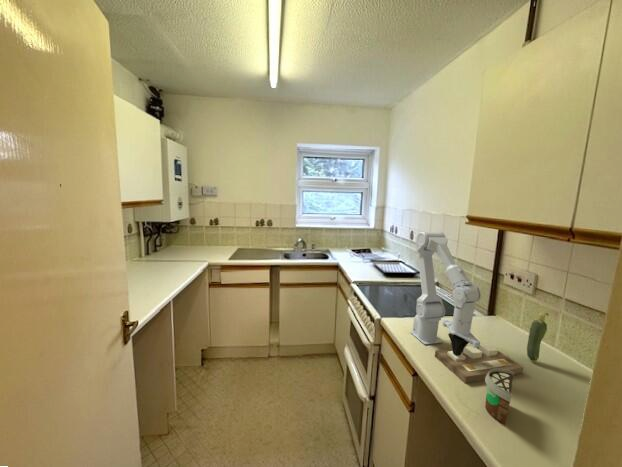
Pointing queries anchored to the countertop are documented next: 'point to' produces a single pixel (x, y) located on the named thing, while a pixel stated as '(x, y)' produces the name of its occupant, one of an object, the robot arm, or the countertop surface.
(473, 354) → the middle button
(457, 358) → the near button
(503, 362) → the button board
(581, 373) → the countertop surface
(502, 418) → the food container
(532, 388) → the countertop surface
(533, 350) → the vegetable
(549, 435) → the countertop surface
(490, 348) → the far button
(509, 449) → the countertop surface
